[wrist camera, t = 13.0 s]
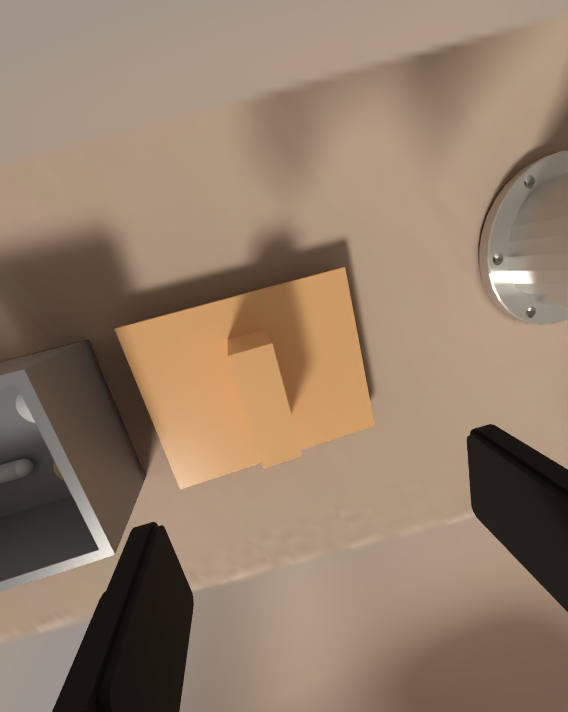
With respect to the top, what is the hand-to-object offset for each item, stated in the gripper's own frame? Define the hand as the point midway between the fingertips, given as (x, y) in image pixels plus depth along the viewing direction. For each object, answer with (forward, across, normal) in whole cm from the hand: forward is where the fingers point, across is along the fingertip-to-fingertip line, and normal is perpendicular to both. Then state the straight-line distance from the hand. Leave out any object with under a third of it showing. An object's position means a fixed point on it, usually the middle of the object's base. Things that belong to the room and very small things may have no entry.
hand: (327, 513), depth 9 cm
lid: (+15, +1, 0) cm, 15 cm away
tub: (+14, +18, 0) cm, 23 cm away
